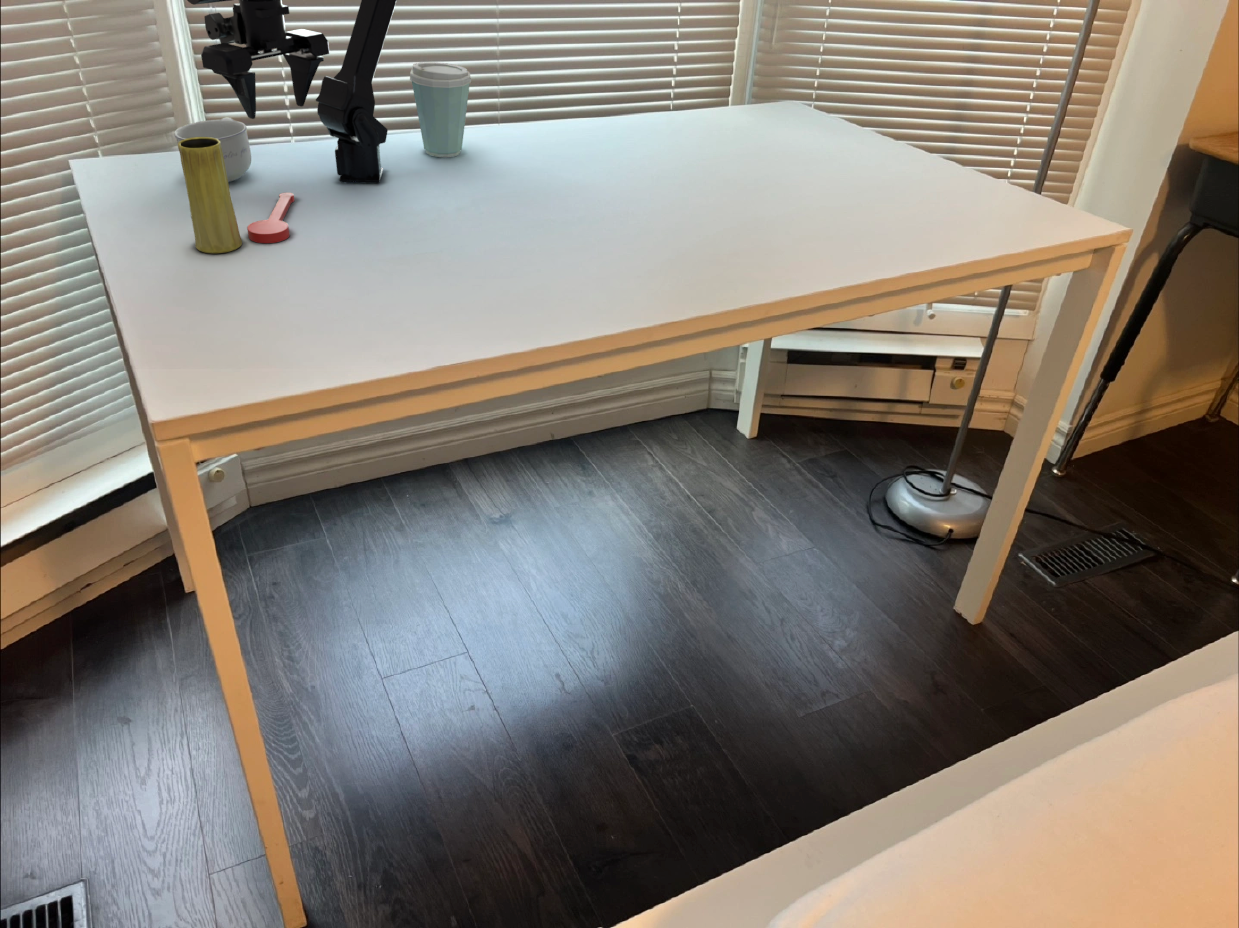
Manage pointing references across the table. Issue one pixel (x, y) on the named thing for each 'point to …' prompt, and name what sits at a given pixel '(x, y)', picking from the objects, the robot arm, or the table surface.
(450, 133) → the disposable coffee cup
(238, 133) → the teacup
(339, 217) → the table surface
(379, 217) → the table surface
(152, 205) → the table surface
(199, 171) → the vase
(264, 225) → the spoon
